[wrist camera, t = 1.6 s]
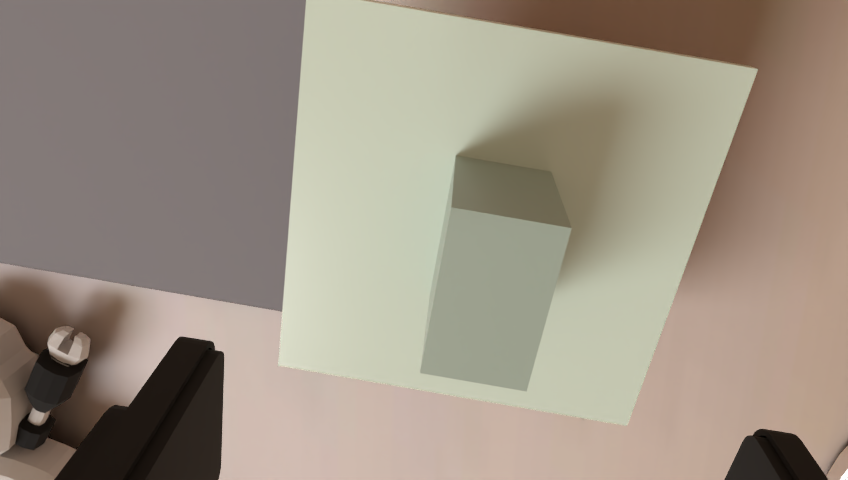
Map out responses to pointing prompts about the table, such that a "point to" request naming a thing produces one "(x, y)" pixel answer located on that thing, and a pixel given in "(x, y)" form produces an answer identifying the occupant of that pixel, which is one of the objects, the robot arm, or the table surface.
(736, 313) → the table surface
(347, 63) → the cover
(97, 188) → the mat
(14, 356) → the robot toy
